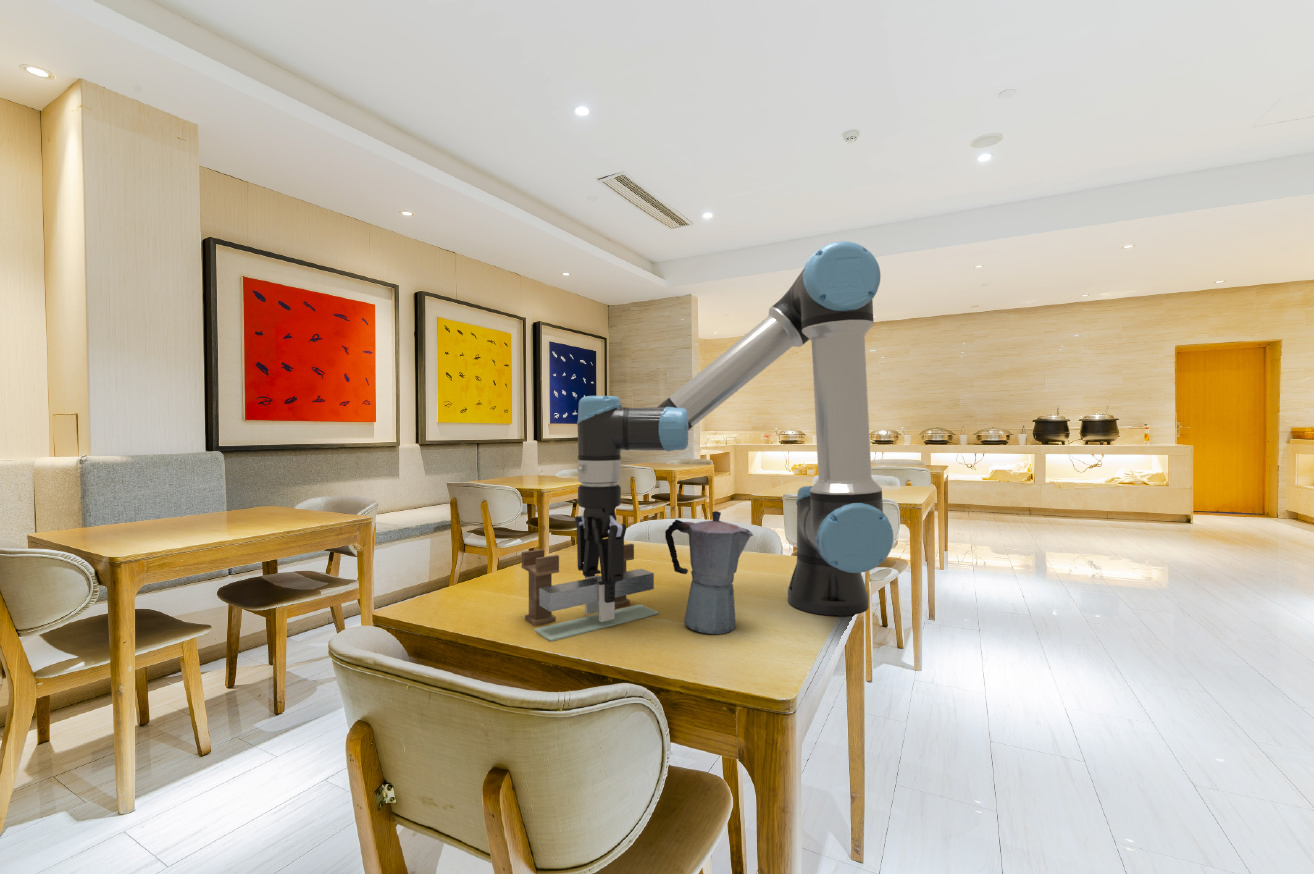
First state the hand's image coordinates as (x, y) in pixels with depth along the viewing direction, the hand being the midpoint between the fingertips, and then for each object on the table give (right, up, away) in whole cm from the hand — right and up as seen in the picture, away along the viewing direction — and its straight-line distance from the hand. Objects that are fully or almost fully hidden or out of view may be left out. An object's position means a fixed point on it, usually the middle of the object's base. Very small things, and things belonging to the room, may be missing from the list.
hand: (599, 615), depth 97 cm
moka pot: (+19, -1, -2) cm, 19 cm away
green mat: (0, -1, 0) cm, 1 cm away
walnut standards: (-4, -1, +6) cm, 7 cm away
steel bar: (0, +3, 0) cm, 3 cm away
